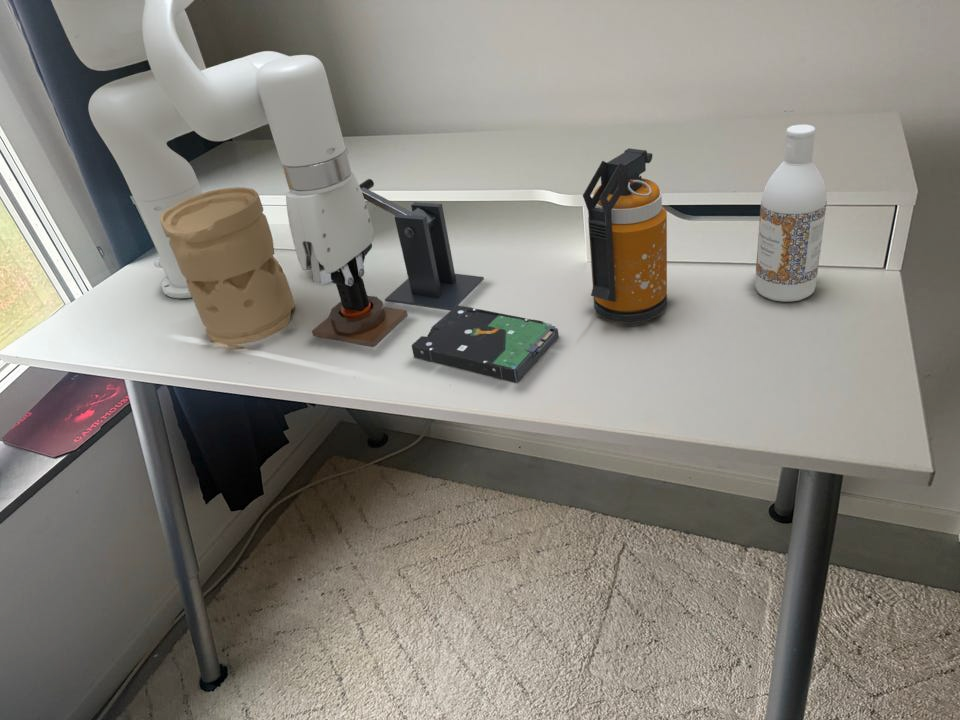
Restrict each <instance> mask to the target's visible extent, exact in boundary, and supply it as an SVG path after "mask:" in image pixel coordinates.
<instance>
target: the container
mask: <svg viewBox="0 0 960 720" xmlns="http://www.w3.org/2000/svg"><path fill="white" fill-rule="evenodd" d="M160 222H161V225H162V228H163V231H164V233H165V235H166V237H168V238H170V241H169V244H170V247H171V249H172V251H173V253H174V256H175V258H176V260H177V263H178V266H179V268H180V271H181V273H182V275H183V276H184V277H185V278H186V280H187V281H186V282H187V286H188V289H189V292H190V294H191V297H192V300H193V303H194V307H195V308H196V311H197V313H198V315H199V318H200V320H201V322H202V325H204V327H205V331H206V334H207V337H208V338H209V339H210V343H219V344H223V345H225V346H227V347H228V348H229V349H231V350H234V351H236V350H244V349H246V347H244V346H239V345H244V344H249V343H250V344H251V343H253V342H258V341H260V340H263V339H265V338H267V337H270V336H272V335H274V334H275V333H278V332H279V331H281V330H283V329H284V328H285V327H287V326H288V325H289V324H290V323H291V314H292V311H294V310H295V308H296V302H295V300H294V297H293V296H294V295H293V294H292V290H291V287H290V285H289V281H288V278H287V276H286V274H285V272H284V270H283V267H282V266H281V264H280V263H279V261H278V260H277V259H276V258H275V246H274V239H273V235H272V232H271V228H270V224H269V221H268V219H267V216H266V215H265V213H264V207H263V203H262V201H261V198H260V195H259V193H258V192H257V191H256V190H255V189H253V188H250V187H241V186H237V187H225V188H219V189H213V190H210V191H205V192H202V194H199V195H196V196H193V197H190V198H188V199H186V200H183V201H181V202H180V203H178V204H176V205H174V206H173V207H171V208H169V209H168V210H166V211H164V212H163V213H162V215H161V216H160Z"/></svg>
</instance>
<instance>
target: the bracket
mask: <svg viewBox="0 0 960 720" xmlns="http://www.w3.org/2000/svg"><path fill="white" fill-rule="evenodd" d="M410 207H411V212H413V211H415V210H416V209H417V208H419V209H421V210H423V211H425V212H427V213H429V214H431V215H433V216H435V217H436V218H435V222H434V227H433V231H432V232H431V233H430V232H429V227H428V222H427V217H426V216H415V215H402V214H398V215H397V216H395V215H394V221H395V226H396V230H397V235H398V239H399V243H400V248H401V252H402V256H403V257H402V258H403V262H404V265H405V270H406V274H407V279H406V280H404V282H403V283H401V284H400V285H399V286H398V287H397V288H395V289H394V290H393V291H392V292H391V293H390V294H389V295H388V296H386V297H385V298H384V301H385V302H389V303H390V302H391V303H397V304H404V305H410V306H416V307H417V306H418V307H424V308H430V309H437V310H443V311H444V310H445V311H449V312H450V311H451V310H452V309H453V308H454V307H455V306H457V305H458V306H460V304H461V303H462V302H463V301H464V300H465V299H466V298H467V297H468V296H469V295H470V294H471V293H472V292H473V291H474V290H475V288H476V287H477V286H478V285H480V284H481V282H483V281H484V279H485V277H484V276H479V275H471V274H461V273H456V271H455V266H454V260H453V256H452V251H451V244H450V239H449V234H448V229H447V223H446V219H445V211H444V208H443V204H442V203H434V202H433V203H432V202H417V201H414V202H412V204H411V205H410Z"/></svg>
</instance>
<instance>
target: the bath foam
mask: <svg viewBox="0 0 960 720" xmlns="http://www.w3.org/2000/svg"><path fill="white" fill-rule="evenodd" d="M815 138H816V127H815V126H813V125H811V124H794V125H790V126H788V127H787V128H786V130H785V138H784V139H785V141H784V148H783V149H784V151H783V161H781V163H780V164H779V166H778V167H777V168H776V169H775V171H773V173H772V174H771V175H770V177H769V179H768V180H767V182H766V184H765V185H764V189H763V191H762V196H761V200H760V209H759V221H758V222H759V225H758V226H759V227H758V235H757V236H758V237H757V251H756V262H755V263H756V264H755V277H754V278H755V279H754V288H755V290H756V291H757V294H759V295H760V296H762V297H763V298H766V299H769V300H772V301H776V302H785V303H787V302H797V301H802V300H803V299H806V298H809V297H810V296H811V295H812V294H814V292H815V290H816V286H817V279H818V272H819V266H820V257H821V250H822V243H823V233H824V226H825V219H826V211H827V205H828V201H827V200H828V196H827V195H828V193H827V186H826V184H825V181H824V177H823V176H822V174H821V173H820V171H819V169H818V168H817V165H816V164H815V162H814V161H813V155H814V146H815Z"/></svg>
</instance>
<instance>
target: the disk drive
mask: <svg viewBox="0 0 960 720" xmlns="http://www.w3.org/2000/svg"><path fill="white" fill-rule="evenodd" d="M558 338H559V329H558V328H557V327H556V325H552V323H549V322H548V323H547V322H544V321H542V320H539V319H538V320H537V319H531V318H525V317H522V316H521V317H520V316H517V315H511V314H505V313H501V312H495V311H490V310H484V309H481V308H476V307H475V308H474V307H470V306H464V305H457V306H455V307H454V308H453V309H452V310H451V311H450V310H449V311H448V312H447V314H445V315H444V316H443V317H442V318H441V319H440V320H438V321H437V322H436V323H434V325H433V326H431V328H430V330H429V332H428V334H427V336H424V335H422V336H420V337H419V338H417V339H416V341H414V342H413V343H412V344H411V350H412V354H413V358H414V359H419V360H422V361H425V362H429V363H435V364H439V365H443V366H447V367H451V368H454V369H459V370H462V371H467V372H471V373H475V374H479V375H483V376H486V377H491V378H493V379H497V380H502V381H506V382H510V383H511V382H512V383H515V384H519V382H520V381H521V380H522V379H523V378H524V377H525V375H527V373H528V372H529V371H530V370H531V369H532V368H533V367H534V365H535V364H537V362H538V361H539V359H540V358H542V357H543V355H544V354H545V353H546V352H547V351H548V350H549V349H550V348H551V346H552V345H553V344H554V343H555V342H556V341H557V340H558Z"/></svg>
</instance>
